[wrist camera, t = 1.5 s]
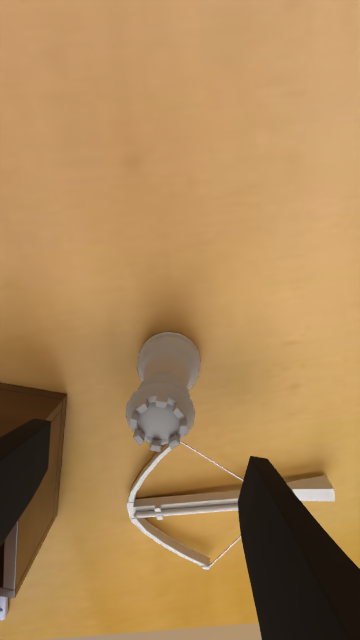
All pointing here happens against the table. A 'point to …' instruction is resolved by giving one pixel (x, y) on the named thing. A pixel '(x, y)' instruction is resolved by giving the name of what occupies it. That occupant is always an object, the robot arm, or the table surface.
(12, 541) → the crate
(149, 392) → the rook chess piece
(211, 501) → the crossbow
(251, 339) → the table surface
